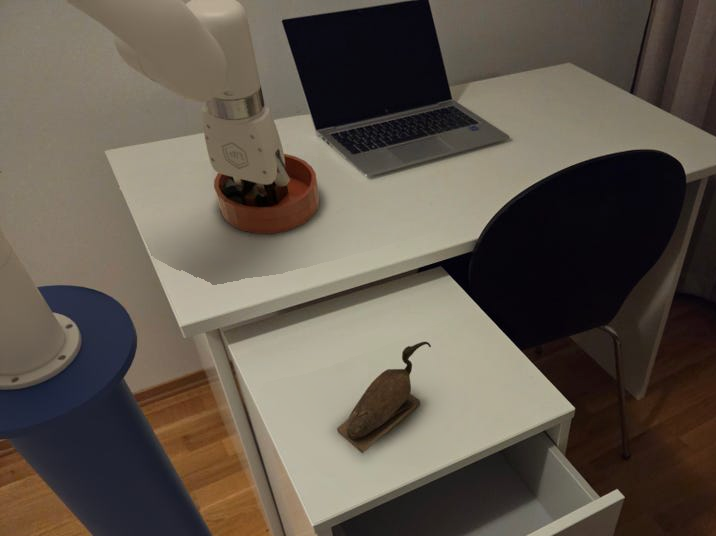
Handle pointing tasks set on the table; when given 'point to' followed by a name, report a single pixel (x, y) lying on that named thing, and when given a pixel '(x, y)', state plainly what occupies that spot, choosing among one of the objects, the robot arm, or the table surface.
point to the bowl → (280, 216)
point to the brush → (276, 192)
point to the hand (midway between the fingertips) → (260, 209)
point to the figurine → (381, 405)
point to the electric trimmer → (232, 192)
